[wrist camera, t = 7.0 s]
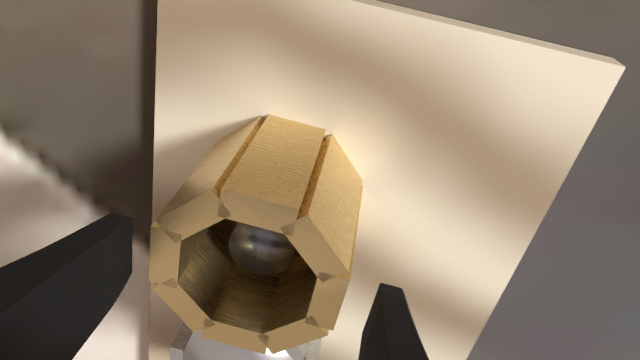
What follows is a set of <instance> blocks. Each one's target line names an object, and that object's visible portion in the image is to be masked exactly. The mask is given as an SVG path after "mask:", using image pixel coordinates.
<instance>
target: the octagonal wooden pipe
mask: <svg viewBox="0 0 640 360" xmlns="http://www.w3.org/2000/svg"><path fill="white" fill-rule="evenodd" d="M325 132H326V129H323V128H319V127H315V126H311V125H308V124H304V123H300V122H296V121H292V120H289V119H285V118H281V117H277V116H273V115H270V114H269V115H268V116H267V118H266V119H264V118H263V116H262V115H261V116H259V117H258V118H256V119H254V120H252V121H251V122H249V123H247V124H246V125H244V126H242V127H240V128H239V129H237V130H235V131H234V132H232V133H230V134H228V135H227V136H225V137H223V138H222V139H220V140H218V141H217V142H216V143H215V144H214V146H213V147H212V148H211V149H210V151H209V152H208V153H207V155H206V156H205V157H204V158H203V160H202V161H201V162H200V163H199V165H198V166H197V167H196V168H195V170H194V171H193V172H192V173H191V175H190V176H189V177H188V179H187V180H186V181H185V182H184V184H183V185H182V186H181V187H180V189H179V190H178V191H177V192H176V194H175V195H174V196H173V198H172V199H171V200H170V201H169V203H168V204H167V205H166V206H165V208H164V209H163V210H162V211H161V213H160V214H159V215H158V217H157V218H156V219H155V221H154V223H153V224H152V225H151V233H150V257H149V281H151V282H155V283H154V285H153V286H152V289H153V290H154V291H155V292H156V293H157V294H158V295H159V296H160V297H161V298H162V299H163V300H164V301H165V302H166V303H167V305H168V306H169V307H170V308H171V309H172V310H173V311H174V312H175V313H176V314H177V315H178V316H179V317H180V318H181V319H182V320H183V321H184V322H185V324H186V325H187V326H188V327H189V328H190V329H191V330H192V331H193V332H194V333H196V332H199V331H201V330H203V332H202V338H206V339H210V340H214V341H217V342H221V343H225V344H228V345H232V346H236V347H239V348H243V349H247V350H250V351H254V352H258V353H261V354H265V352H266V349H267V348H268V349H269V351H270V352H271V353H272V354H276V353H278V352H281V351H284V350H287V349H290V348H293V347H296V346H299V345H302V344H305V343H308V342H310V341H313V340H316V339H319V338H322V337H325V336H328V333H329V330H332V331H333V330H334V327H335V324H336V321H337V318H338V315H339V312H340V309H341V306H342V303H343V300H344V297H345V294H346V291H347V288H348V285H349V282H350V279H351V271H352V264H353V256H354V249H355V242H356V234H357V227H358V219H359V212H360V205H361V197H362V190H363V186H362V185H361V184H362V179H361V177H360V175H359V174H358V172H357V171H356V169H355V168H354V166H353V165H352V163H351V162H350V160H349V159H348V157H347V156H346V154H345V152H344V151H343V149H342V148H341V146H340V145H339V143H338V142H337V140H336V139H335V137H334V136H333V134H331V135H329V136H327V137H325V138H324V136H325ZM237 222H241V223H245V224H248V225H252V226H256V227H260V228H263V229H267V230H271V231H274V232H278V233H282V234H285V235H286V237H287V238H288V239H289V241H290V242H291V243H292V244H293V246H294V247H295V251H294V254H293V257H292V260H291V262H290V264H289V266H288V267H287V268H286V269H285V270H283V271H281V272H280V273H277V274H273V275H259V274H255V273H252V272H249V271H247V270H245V269H244V268H242V267H241V266H240V265H239V264H238V263H237V262H236V261H235V260H234V259H233V257H232V255H231V253H230V250H229V238H230V236H231V234H232V232H233V230H234V228H235V226H236V224H237Z"/></svg>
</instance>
